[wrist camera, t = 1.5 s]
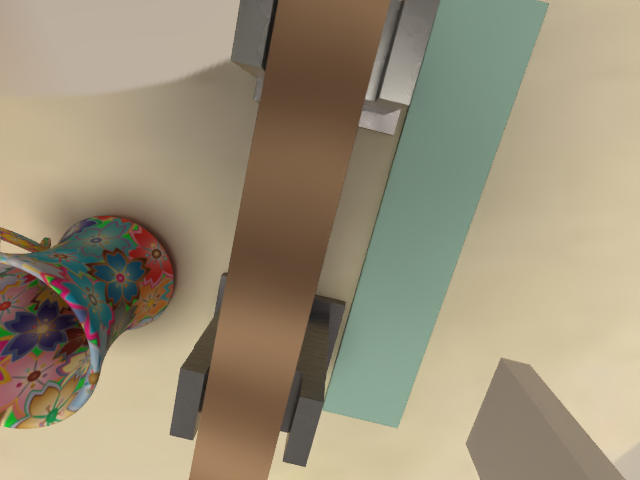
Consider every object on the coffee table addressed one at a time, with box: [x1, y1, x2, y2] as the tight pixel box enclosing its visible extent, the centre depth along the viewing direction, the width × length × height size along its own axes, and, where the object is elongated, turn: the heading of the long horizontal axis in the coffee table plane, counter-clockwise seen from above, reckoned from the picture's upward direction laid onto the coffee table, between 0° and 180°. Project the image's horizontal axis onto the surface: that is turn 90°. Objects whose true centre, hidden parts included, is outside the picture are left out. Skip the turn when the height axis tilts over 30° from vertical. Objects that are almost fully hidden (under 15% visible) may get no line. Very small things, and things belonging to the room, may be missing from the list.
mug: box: [0, 216, 174, 429], centre depth 23 cm, size 12×9×11 cm
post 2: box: [170, 273, 345, 467], centre depth 24 cm, size 6×9×10 cm, turn 77°
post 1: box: [231, 0, 439, 135], centre depth 19 cm, size 6×9×10 cm, turn 77°
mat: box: [322, 0, 549, 428], centre depth 27 cm, size 30×6×1 cm, turn 167°
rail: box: [189, 0, 390, 480], centre depth 17 cm, size 26×4×4 cm, turn 167°
